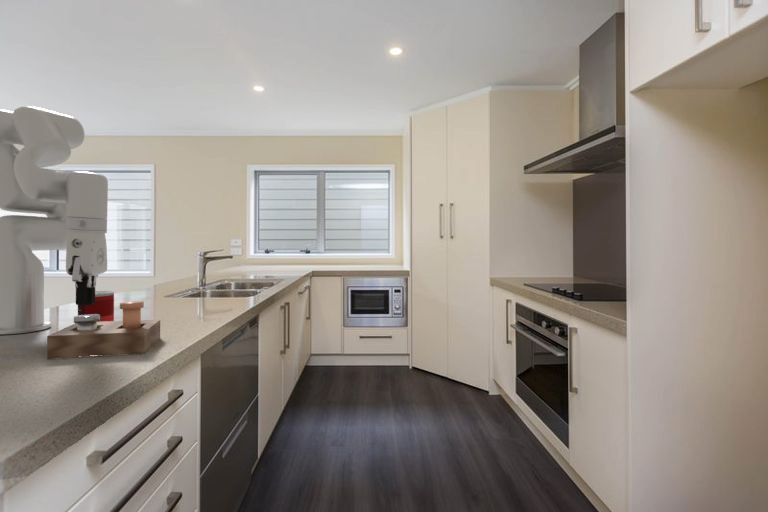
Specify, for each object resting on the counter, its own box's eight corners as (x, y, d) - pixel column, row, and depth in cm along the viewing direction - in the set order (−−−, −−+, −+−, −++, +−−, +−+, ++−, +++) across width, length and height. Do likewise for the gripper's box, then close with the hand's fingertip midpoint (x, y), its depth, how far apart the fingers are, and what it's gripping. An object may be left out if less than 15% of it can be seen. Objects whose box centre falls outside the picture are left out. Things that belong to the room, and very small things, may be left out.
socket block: (47, 359, 79) (47, 336, 79) (77, 342, 92) (77, 322, 92) (144, 353, 85) (144, 331, 85) (160, 338, 98) (160, 319, 98)
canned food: (120, 329, 106) (120, 291, 106) (96, 336, 98) (96, 295, 98) (96, 328, 107) (96, 290, 107) (70, 334, 99) (70, 293, 99)
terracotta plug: (116, 335, 87) (116, 304, 87) (123, 330, 91) (123, 301, 91) (140, 334, 88) (140, 304, 88) (146, 329, 93) (146, 300, 93)
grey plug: (69, 350, 84) (69, 318, 84) (79, 344, 89) (79, 314, 88) (95, 348, 86) (95, 317, 85) (103, 343, 90) (103, 313, 90)
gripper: (92, 226, 80) (90, 310, 81) (117, 227, 95) (115, 298, 95) (49, 224, 78) (48, 310, 79) (82, 225, 92) (80, 298, 93)
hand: (85, 304), depth 87 cm, fingers closed
